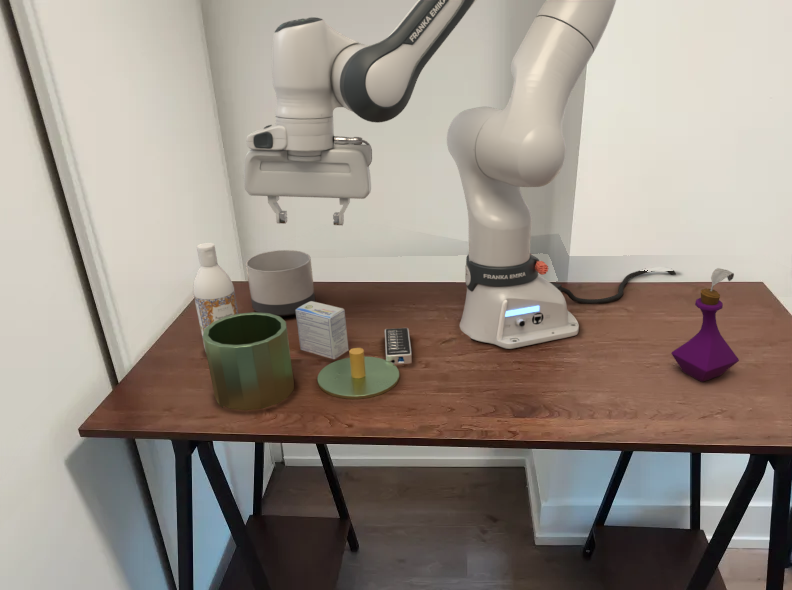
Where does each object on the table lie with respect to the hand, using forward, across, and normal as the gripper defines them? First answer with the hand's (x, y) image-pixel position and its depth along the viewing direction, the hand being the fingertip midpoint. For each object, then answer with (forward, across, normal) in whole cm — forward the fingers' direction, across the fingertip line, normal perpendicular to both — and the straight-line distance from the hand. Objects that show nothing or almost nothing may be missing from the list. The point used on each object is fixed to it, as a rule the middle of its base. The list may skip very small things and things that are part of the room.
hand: (310, 223), depth 113 cm
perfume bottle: (+21, -66, +8) cm, 69 cm away
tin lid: (+23, -9, +11) cm, 27 cm away
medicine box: (+24, -1, 0) cm, 24 cm away
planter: (+24, +10, -20) cm, 32 cm away
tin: (+24, +8, +14) cm, 29 cm away
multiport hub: (+23, -15, 0) cm, 27 cm away
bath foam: (+24, +17, -1) cm, 30 cm away
